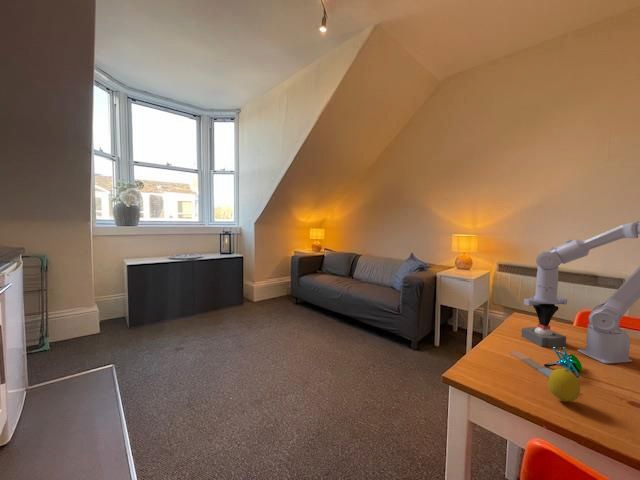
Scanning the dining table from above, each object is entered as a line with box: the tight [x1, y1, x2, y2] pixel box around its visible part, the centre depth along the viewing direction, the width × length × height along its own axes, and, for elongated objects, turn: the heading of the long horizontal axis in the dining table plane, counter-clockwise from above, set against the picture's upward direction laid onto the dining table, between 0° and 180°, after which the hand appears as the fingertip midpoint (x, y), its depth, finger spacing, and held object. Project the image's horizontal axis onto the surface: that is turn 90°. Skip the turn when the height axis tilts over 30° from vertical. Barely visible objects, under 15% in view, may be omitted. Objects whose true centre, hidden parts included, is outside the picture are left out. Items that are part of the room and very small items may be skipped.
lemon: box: [548, 367, 581, 403], centre depth 65 cm, size 6×6×8 cm
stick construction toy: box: [543, 346, 583, 378], centre depth 79 cm, size 12×7×8 cm
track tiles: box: [508, 350, 553, 379], centre depth 81 cm, size 3×15×1 cm, turn 7°
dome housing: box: [521, 326, 567, 348], centre depth 97 cm, size 9×9×3 cm
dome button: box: [534, 323, 553, 336], centre depth 96 cm, size 5×5×6 cm
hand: (543, 324), depth 96 cm, fingers closed, pressing on dome button
